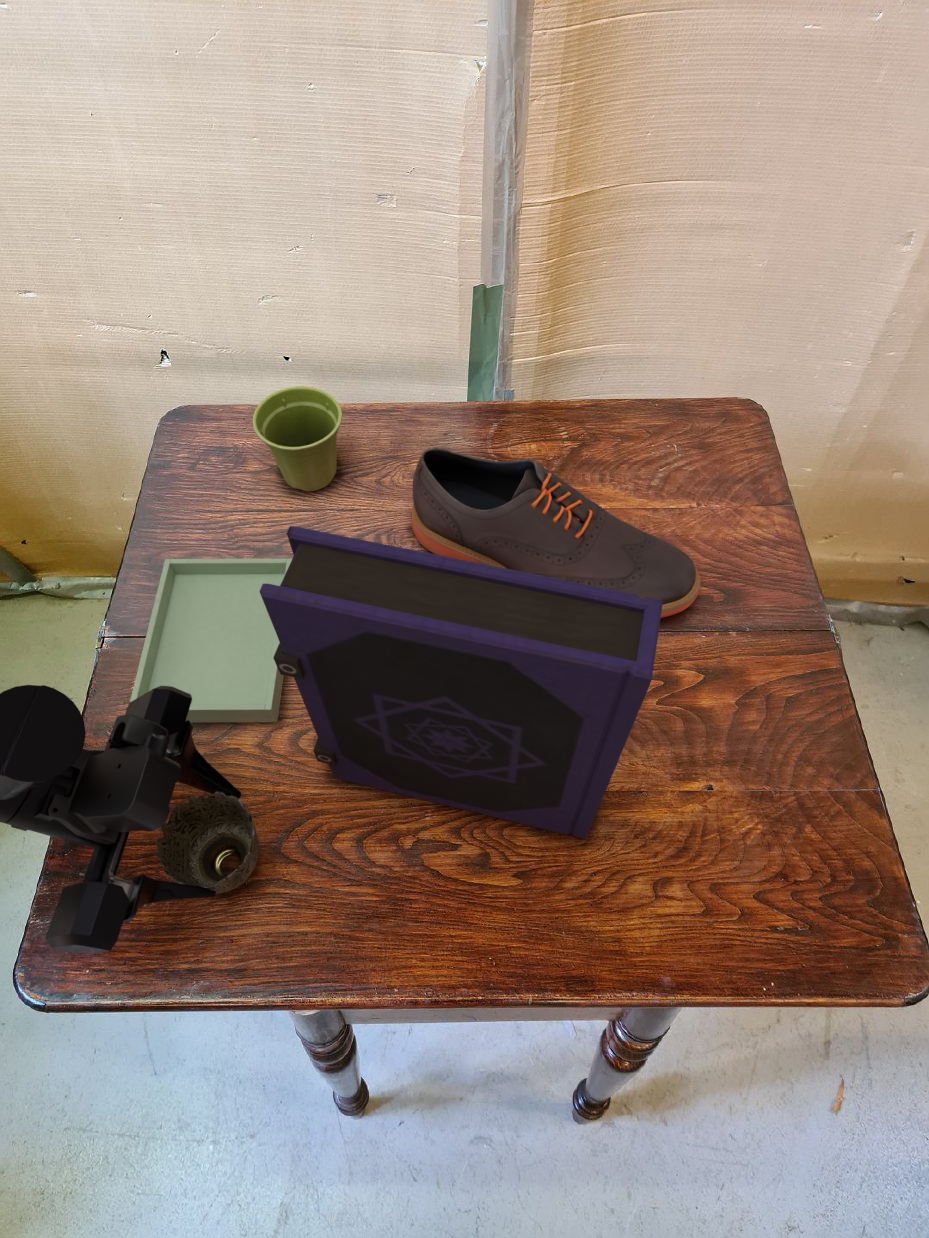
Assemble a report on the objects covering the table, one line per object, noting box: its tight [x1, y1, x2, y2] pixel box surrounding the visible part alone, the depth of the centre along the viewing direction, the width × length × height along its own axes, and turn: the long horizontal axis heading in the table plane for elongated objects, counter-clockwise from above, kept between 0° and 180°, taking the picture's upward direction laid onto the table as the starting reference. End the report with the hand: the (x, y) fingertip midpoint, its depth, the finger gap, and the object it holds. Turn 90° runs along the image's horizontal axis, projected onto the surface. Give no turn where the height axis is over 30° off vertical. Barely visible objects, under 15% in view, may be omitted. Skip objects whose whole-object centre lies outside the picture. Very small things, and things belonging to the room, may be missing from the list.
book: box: [259, 525, 663, 840], centre depth 59 cm, size 24×6×30 cm, turn 76°
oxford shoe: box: [411, 447, 702, 619], centre depth 80 cm, size 11×31×11 cm, turn 70°
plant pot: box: [252, 385, 343, 492], centre depth 88 cm, size 9×9×9 cm
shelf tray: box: [129, 557, 293, 723], centre depth 78 cm, size 13×17×3 cm
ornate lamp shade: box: [155, 791, 260, 895], centre depth 65 cm, size 8×7×8 cm
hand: (226, 844), depth 62 cm, fingers closed on ornate lamp shade, 7 cm apart
